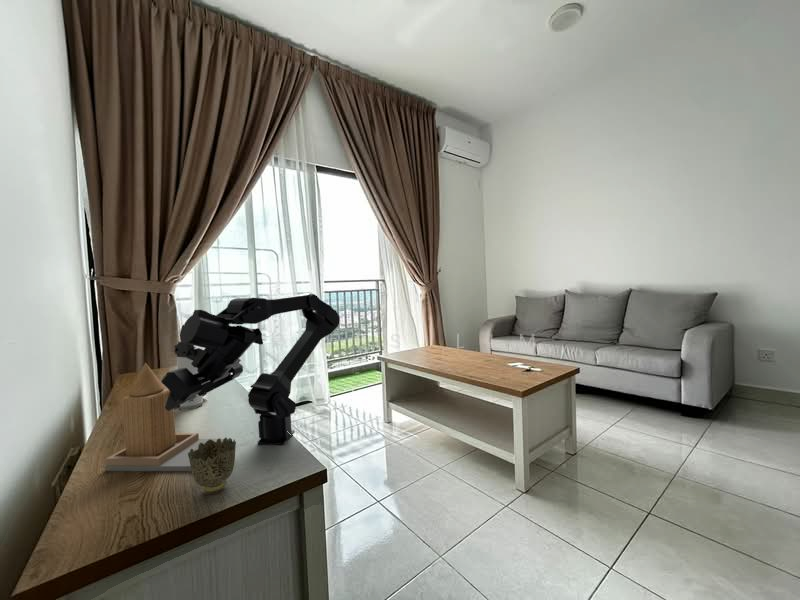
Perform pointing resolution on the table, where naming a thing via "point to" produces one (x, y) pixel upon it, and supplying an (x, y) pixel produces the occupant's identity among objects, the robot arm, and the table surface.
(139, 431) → the decorative item
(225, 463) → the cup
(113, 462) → the display stand
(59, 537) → the table surface
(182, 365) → the travel mug
